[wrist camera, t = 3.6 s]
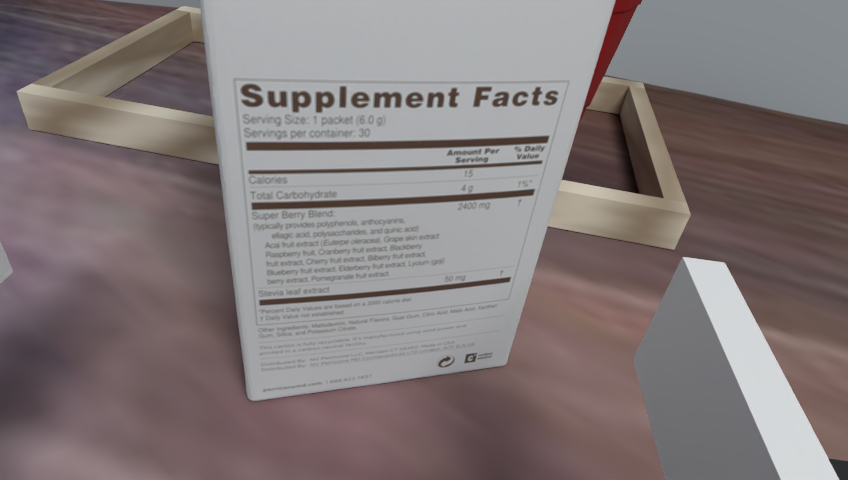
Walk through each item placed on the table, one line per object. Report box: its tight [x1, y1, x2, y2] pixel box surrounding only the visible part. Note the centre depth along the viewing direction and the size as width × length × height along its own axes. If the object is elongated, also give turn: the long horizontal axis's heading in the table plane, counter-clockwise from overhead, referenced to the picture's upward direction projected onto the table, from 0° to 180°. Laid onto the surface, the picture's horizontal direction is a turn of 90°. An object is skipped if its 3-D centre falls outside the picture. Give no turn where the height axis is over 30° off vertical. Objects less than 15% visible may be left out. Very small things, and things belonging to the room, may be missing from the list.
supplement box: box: [199, 0, 616, 401], centre depth 18 cm, size 9×9×15 cm
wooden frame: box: [17, 6, 691, 250], centre depth 33 cm, size 32×16×3 cm, turn 80°
